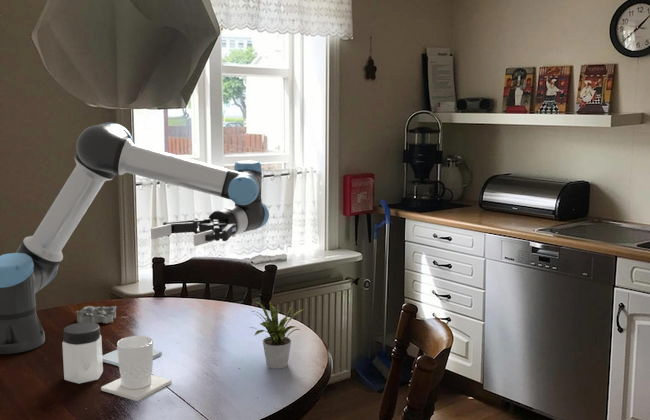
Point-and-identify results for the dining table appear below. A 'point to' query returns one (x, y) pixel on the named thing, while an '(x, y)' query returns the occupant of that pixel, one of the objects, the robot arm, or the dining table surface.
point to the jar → (82, 352)
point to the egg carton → (96, 314)
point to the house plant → (276, 338)
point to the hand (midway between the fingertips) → (172, 237)
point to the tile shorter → (139, 393)
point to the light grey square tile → (113, 357)
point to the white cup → (135, 361)
